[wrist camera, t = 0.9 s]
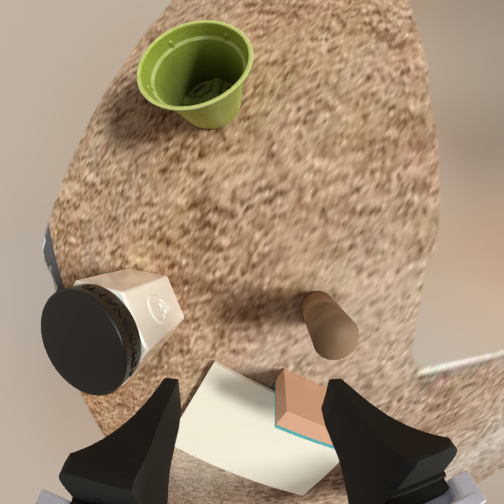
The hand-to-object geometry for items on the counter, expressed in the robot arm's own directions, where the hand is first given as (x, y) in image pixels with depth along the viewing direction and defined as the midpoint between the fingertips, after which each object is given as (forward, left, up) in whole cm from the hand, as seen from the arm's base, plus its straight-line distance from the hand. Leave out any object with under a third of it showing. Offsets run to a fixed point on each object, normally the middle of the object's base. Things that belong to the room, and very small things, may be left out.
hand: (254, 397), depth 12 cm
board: (-8, +14, -15) cm, 22 cm away
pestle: (-4, -3, -15) cm, 16 cm away
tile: (-8, +5, -15) cm, 18 cm away
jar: (+11, +6, -15) cm, 20 cm away
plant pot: (+15, -16, -15) cm, 27 cm away
